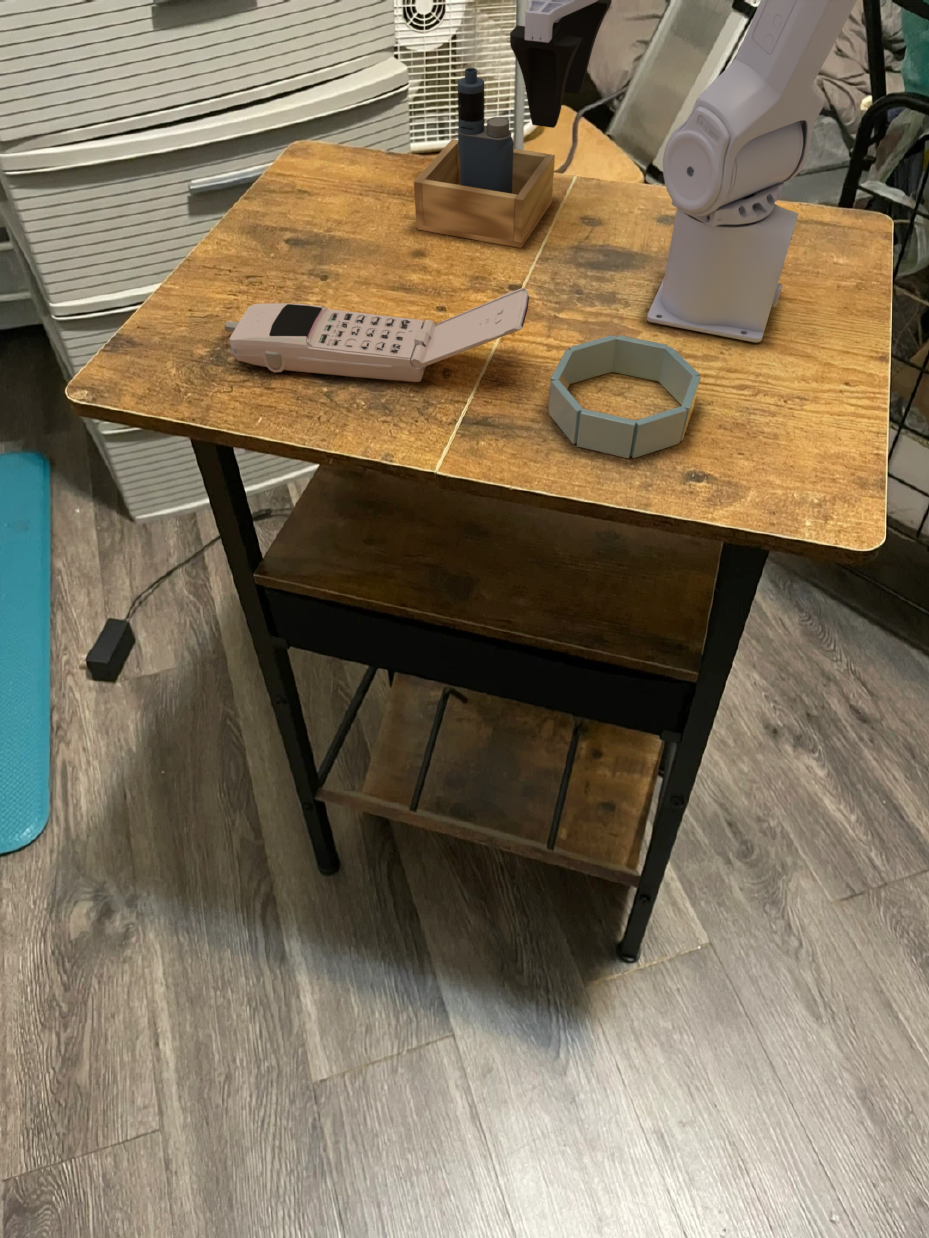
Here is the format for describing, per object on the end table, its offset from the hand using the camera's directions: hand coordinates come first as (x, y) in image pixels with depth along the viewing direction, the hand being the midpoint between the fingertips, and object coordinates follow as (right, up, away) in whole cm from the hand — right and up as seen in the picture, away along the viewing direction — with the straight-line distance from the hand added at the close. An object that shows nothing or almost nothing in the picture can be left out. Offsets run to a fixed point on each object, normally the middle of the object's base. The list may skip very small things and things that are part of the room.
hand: (556, 108), depth 77 cm
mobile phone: (-16, -25, -7) cm, 30 cm away
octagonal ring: (+3, -30, -12) cm, 32 cm away
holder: (-6, -6, +7) cm, 11 cm away
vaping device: (-6, -6, +7) cm, 11 cm away
